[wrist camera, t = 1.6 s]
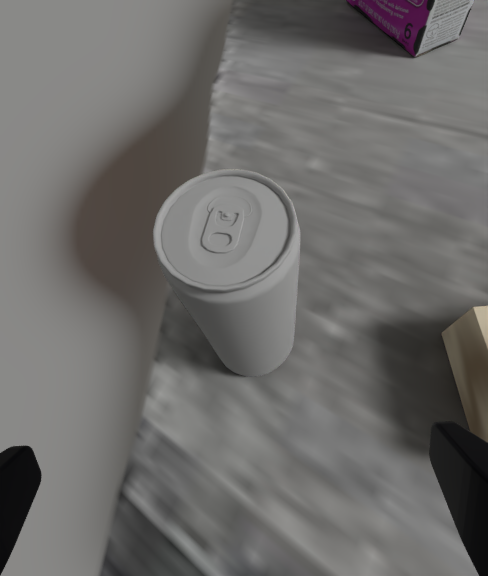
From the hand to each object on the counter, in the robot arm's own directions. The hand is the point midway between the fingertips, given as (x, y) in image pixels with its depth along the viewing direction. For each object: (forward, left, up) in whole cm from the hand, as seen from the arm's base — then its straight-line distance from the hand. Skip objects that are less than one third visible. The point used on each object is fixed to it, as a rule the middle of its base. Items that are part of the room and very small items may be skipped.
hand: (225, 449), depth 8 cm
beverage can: (+3, +6, -13) cm, 14 cm away
